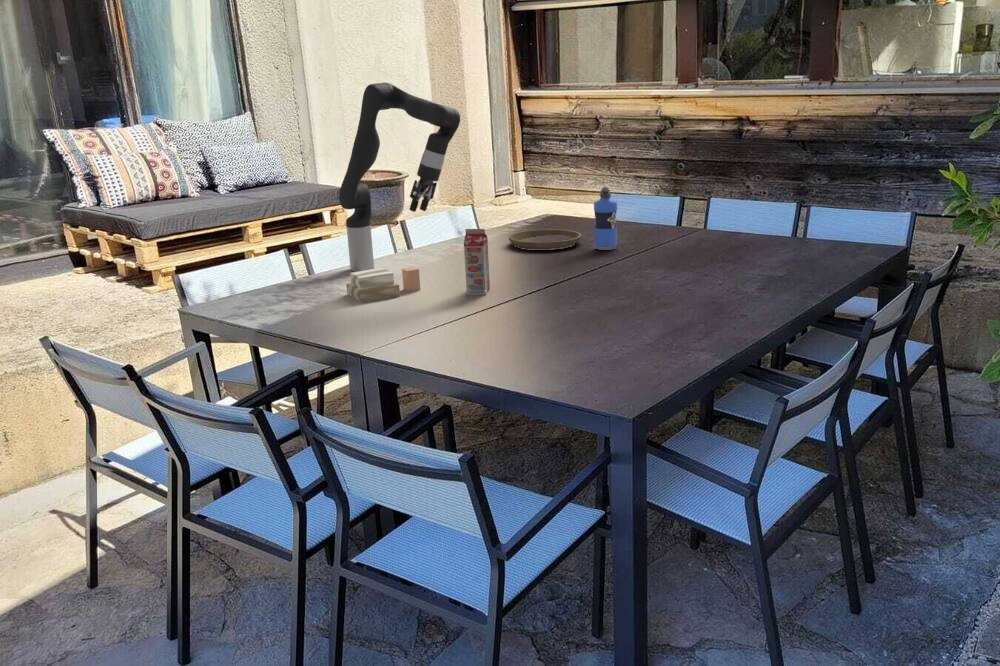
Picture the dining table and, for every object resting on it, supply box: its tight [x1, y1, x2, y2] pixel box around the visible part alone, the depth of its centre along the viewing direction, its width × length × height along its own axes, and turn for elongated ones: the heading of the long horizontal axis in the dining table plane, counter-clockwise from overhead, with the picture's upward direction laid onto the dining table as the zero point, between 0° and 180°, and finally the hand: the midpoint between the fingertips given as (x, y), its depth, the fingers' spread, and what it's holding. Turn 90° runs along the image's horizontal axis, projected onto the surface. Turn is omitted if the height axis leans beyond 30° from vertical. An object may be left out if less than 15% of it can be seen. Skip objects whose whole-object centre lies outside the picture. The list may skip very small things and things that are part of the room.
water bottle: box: [593, 186, 618, 247], centre depth 356 cm, size 9×9×25 cm
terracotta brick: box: [401, 266, 421, 293], centre depth 307 cm, size 4×4×8 cm
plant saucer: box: [508, 228, 583, 249], centre depth 372 cm, size 31×31×5 cm
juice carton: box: [463, 228, 491, 296], centre depth 297 cm, size 7×7×22 cm
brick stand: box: [345, 267, 401, 303], centre depth 301 cm, size 14×14×8 cm
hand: (417, 210), depth 299 cm, fingers open, 8 cm apart
